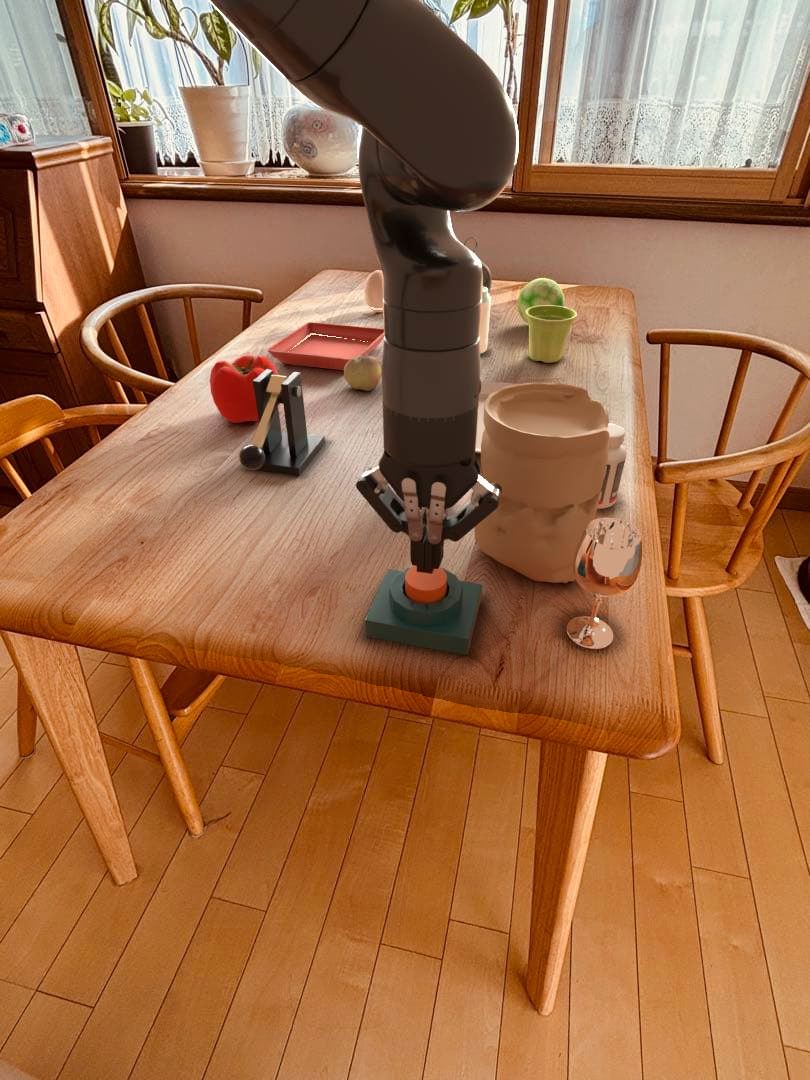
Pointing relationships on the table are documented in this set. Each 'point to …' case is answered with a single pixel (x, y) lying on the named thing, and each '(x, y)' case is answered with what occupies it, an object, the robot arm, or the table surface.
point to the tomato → (238, 387)
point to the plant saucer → (326, 345)
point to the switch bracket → (293, 445)
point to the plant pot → (548, 331)
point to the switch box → (425, 615)
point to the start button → (425, 585)
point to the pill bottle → (613, 466)
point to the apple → (363, 372)
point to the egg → (374, 290)
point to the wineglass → (604, 574)
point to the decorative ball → (539, 295)
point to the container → (541, 475)
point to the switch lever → (263, 426)
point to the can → (484, 320)
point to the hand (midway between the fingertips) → (427, 567)
